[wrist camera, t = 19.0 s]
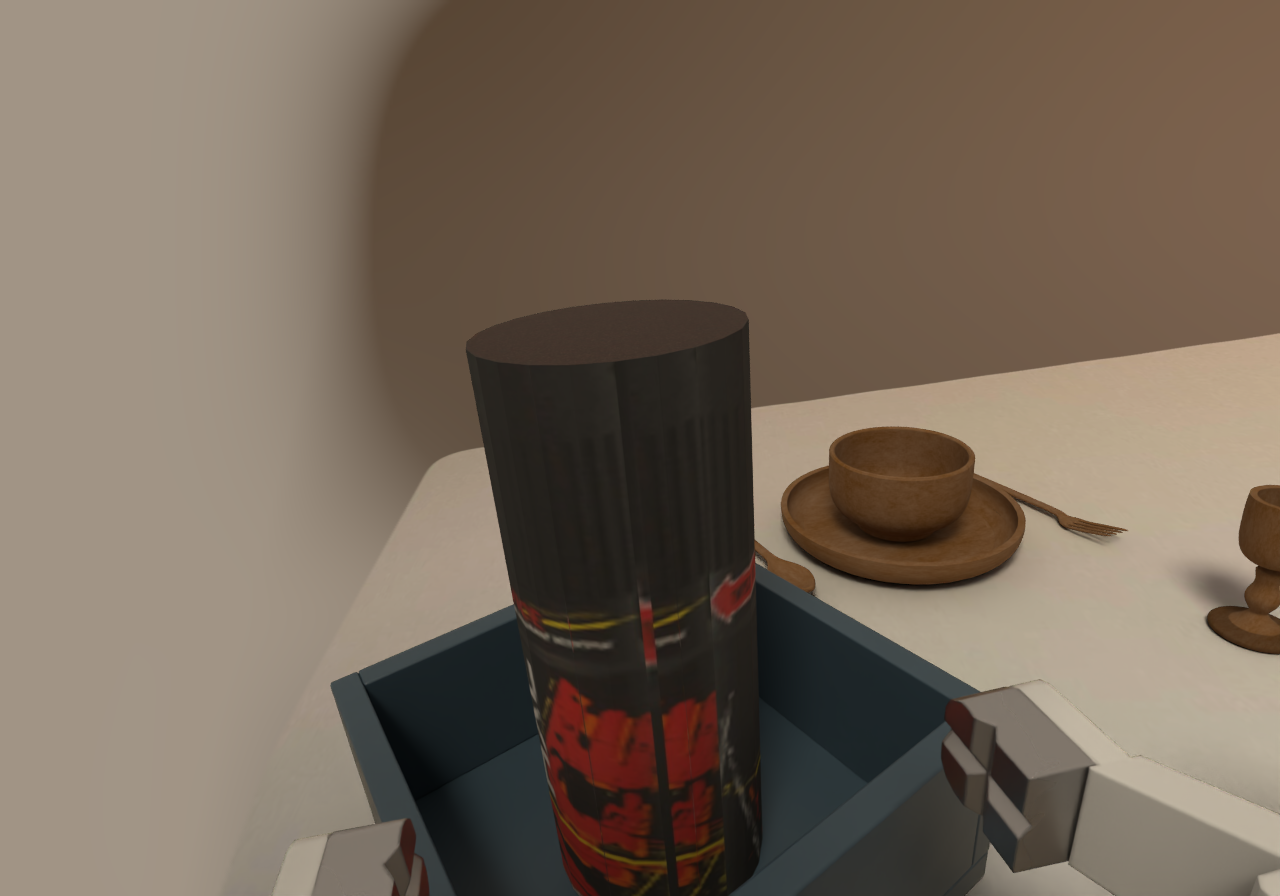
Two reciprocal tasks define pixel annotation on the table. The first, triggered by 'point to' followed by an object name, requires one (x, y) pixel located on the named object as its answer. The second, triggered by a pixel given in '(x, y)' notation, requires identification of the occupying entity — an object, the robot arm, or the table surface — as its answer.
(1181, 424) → the table surface
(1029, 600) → the table surface
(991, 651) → the table surface
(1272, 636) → the place setting
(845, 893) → the bin
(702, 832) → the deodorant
